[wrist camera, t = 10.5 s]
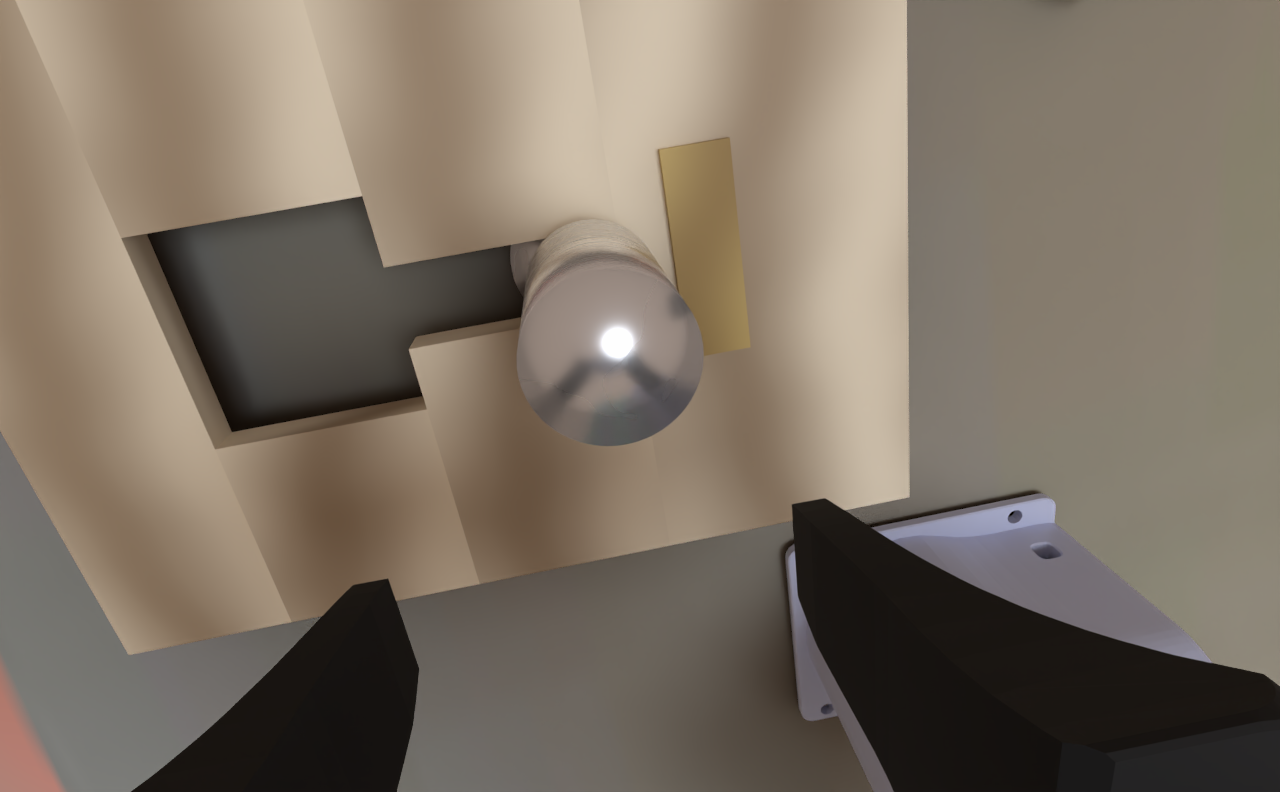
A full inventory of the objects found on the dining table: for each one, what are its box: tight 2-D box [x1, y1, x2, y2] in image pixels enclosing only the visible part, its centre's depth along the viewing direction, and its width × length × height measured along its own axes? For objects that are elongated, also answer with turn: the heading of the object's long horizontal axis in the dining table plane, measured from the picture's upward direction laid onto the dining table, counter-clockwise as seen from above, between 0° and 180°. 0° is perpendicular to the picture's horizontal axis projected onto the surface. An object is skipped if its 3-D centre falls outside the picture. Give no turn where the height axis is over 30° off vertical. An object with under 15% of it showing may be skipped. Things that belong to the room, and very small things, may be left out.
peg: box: [510, 219, 704, 446], centre depth 16 cm, size 4×4×9 cm
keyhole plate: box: [0, 0, 909, 655], centre depth 18 cm, size 22×16×3 cm
